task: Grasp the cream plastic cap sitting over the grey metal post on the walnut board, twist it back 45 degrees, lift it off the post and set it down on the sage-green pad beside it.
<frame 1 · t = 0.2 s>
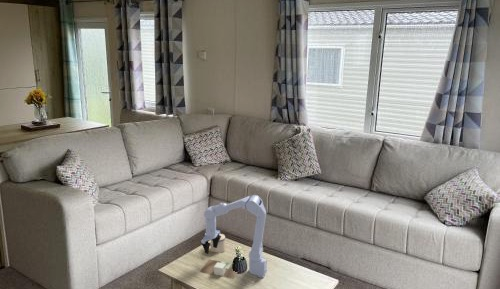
hand: (211, 250, 225), 10 cm above the table, fingers open, 7 cm apart
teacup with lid: (215, 250, 245), on the table
board: (220, 270, 223), on the table
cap: (219, 272, 219), point 1 cm above the table, touching board
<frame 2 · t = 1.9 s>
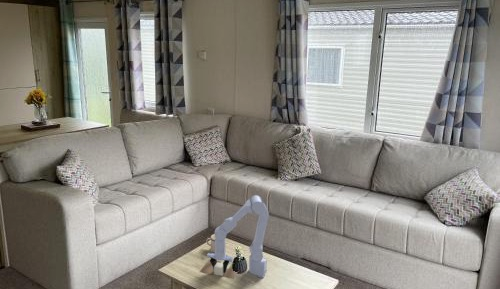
hand: (219, 271, 219), 2 cm above the table, fingers closed on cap, 5 cm apart
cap: (219, 272, 219), point 1 cm above the table, touching board, gripper
everything else where it was.
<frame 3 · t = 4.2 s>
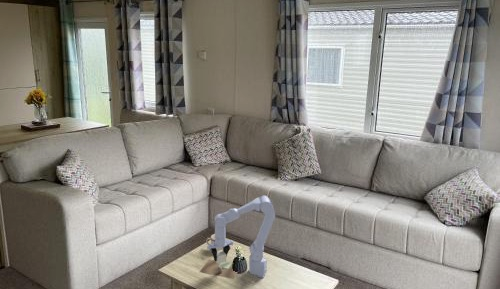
hand: (220, 259, 217), 9 cm above the table, fingers closed on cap, 5 cm apart
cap: (220, 260, 217), point 8 cm above the table, touching gripper
everything else where it was.
when the fingers open (3 cm above the table, at t = 6.5 s): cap drops 1 cm, resting on board.
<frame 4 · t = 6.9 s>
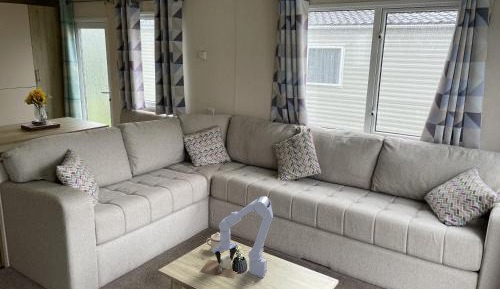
hand: (225, 261, 226), 3 cm above the table, fingers open, 7 cm apart
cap: (225, 264, 227), point 1 cm above the table, touching board
everything else where it was.
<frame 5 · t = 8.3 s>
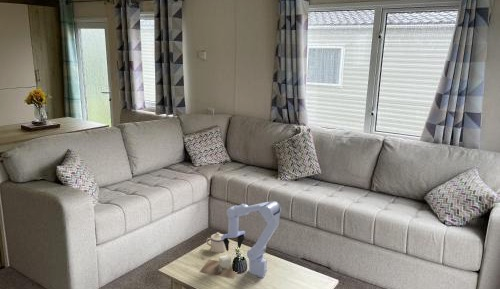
hand: (233, 248, 228), 9 cm above the table, fingers open, 7 cm apart
nothing on the table moved.
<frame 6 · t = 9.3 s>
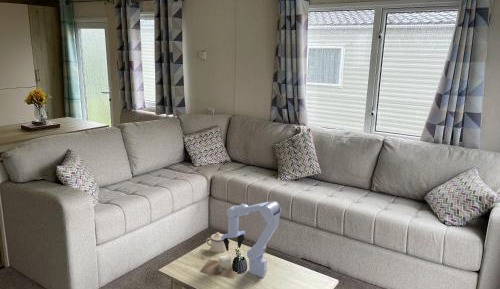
hand: (233, 248, 228), 9 cm above the table, fingers open, 7 cm apart
nothing on the table moved.
at the end: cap 0.0 cm from the target spot on the board, point 1.2 cm above the board's base; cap tilted 0°; the gripper is holding nothing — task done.
